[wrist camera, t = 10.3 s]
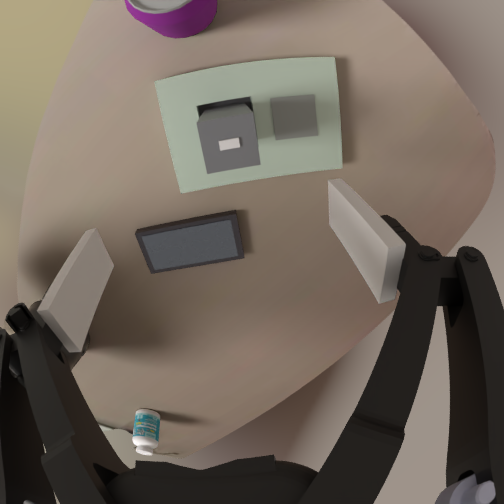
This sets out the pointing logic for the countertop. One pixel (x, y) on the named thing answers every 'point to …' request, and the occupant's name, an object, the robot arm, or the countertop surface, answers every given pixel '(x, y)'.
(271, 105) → the outlet plate
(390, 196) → the countertop surface
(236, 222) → the phone
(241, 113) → the brick
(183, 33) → the beverage can
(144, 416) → the pill bottle
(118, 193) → the countertop surface
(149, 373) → the countertop surface
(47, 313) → the robot arm
